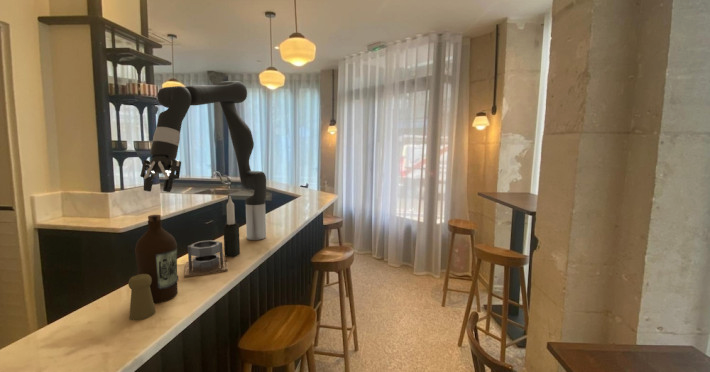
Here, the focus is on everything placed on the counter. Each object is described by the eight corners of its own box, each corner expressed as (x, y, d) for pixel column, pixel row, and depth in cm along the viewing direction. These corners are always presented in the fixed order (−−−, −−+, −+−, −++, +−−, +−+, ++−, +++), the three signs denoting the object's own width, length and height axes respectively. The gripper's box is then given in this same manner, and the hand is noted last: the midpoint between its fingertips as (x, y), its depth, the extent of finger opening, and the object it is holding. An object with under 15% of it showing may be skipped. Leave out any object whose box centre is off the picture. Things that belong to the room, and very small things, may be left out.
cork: (135, 322, 83) (132, 282, 82) (124, 316, 86) (121, 276, 85) (160, 312, 88) (157, 274, 87) (149, 306, 91) (146, 269, 90)
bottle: (240, 253, 137) (238, 195, 134) (235, 257, 132) (232, 197, 129) (229, 252, 138) (227, 194, 135) (223, 256, 133) (220, 196, 130)
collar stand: (186, 264, 124) (184, 241, 123) (225, 258, 130) (224, 237, 129) (184, 277, 112) (183, 252, 110) (227, 271, 118) (226, 247, 116)
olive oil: (130, 301, 94) (123, 218, 91) (161, 286, 104) (156, 211, 101) (157, 307, 91) (151, 221, 88) (187, 291, 101) (183, 213, 98)
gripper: (191, 146, 108) (183, 194, 105) (159, 147, 113) (151, 192, 110) (172, 139, 101) (163, 189, 98) (139, 140, 106) (129, 188, 103)
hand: (156, 191), depth 104 cm, fingers open, 8 cm apart
